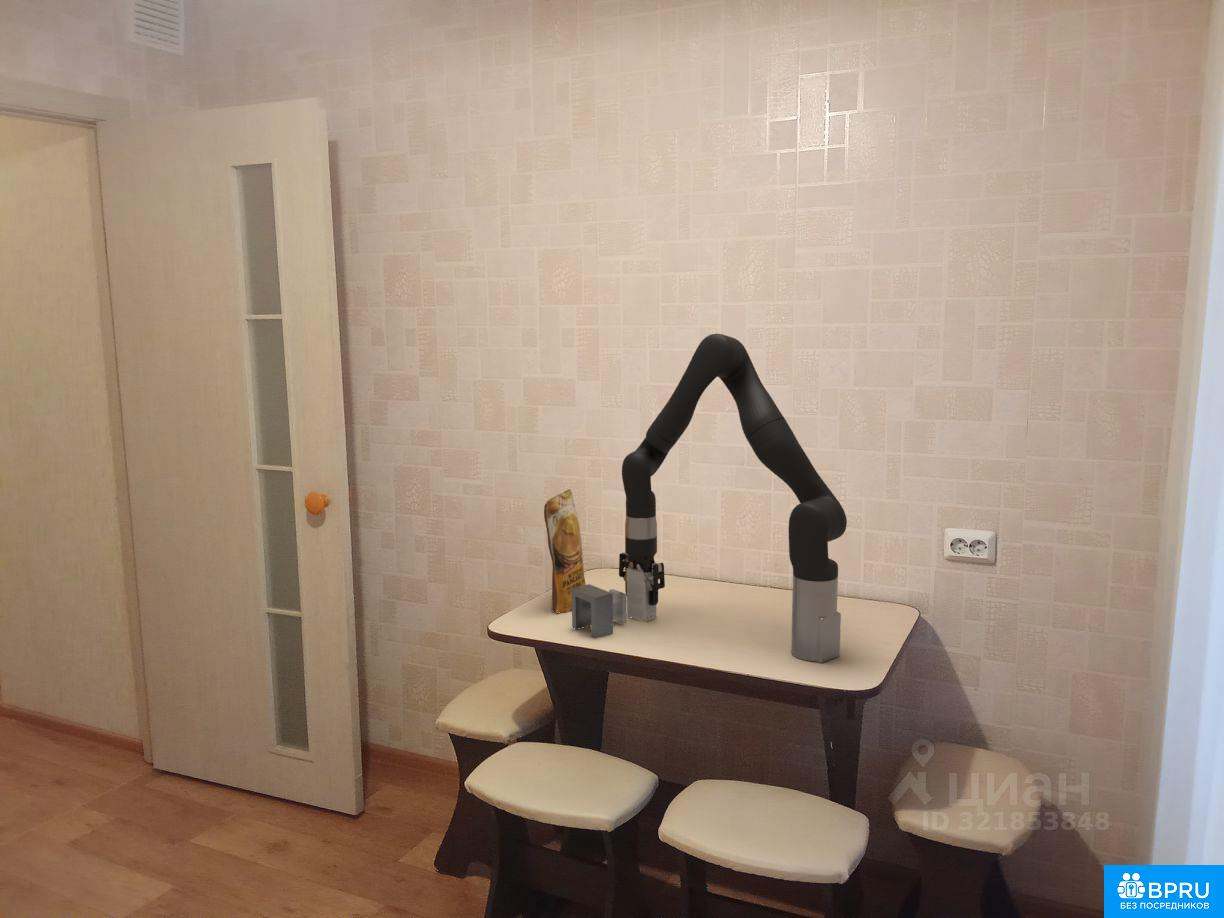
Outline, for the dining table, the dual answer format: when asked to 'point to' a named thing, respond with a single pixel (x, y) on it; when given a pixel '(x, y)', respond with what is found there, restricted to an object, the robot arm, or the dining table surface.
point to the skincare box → (638, 596)
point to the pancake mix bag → (564, 549)
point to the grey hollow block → (592, 610)
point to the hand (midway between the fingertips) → (641, 600)
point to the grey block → (619, 606)
